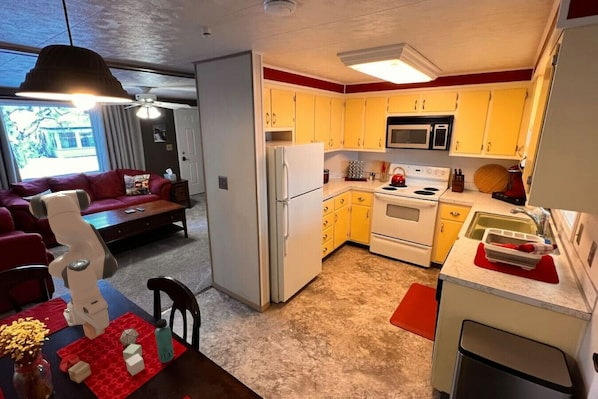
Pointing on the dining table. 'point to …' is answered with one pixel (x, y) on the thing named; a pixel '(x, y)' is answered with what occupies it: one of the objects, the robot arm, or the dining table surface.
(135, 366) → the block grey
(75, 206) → the robot arm
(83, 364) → the block oak
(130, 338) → the game die
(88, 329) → the block terracotta
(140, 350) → the block sage
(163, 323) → the beverage bottle
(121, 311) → the dining table surface
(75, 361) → the cap
